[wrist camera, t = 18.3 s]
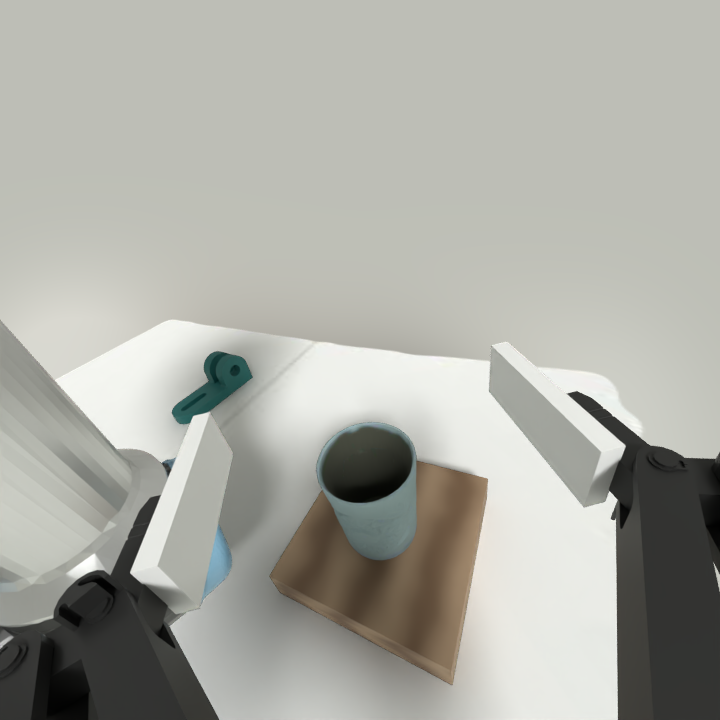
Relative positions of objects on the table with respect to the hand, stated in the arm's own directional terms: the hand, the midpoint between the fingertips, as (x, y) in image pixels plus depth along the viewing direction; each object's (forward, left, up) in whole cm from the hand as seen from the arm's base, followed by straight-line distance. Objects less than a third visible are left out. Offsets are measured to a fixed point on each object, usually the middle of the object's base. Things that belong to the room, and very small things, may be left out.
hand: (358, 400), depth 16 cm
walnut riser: (-6, +9, -32) cm, 34 cm away
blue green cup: (-7, +8, -28) cm, 30 cm away
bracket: (-56, +25, -32) cm, 69 cm away
